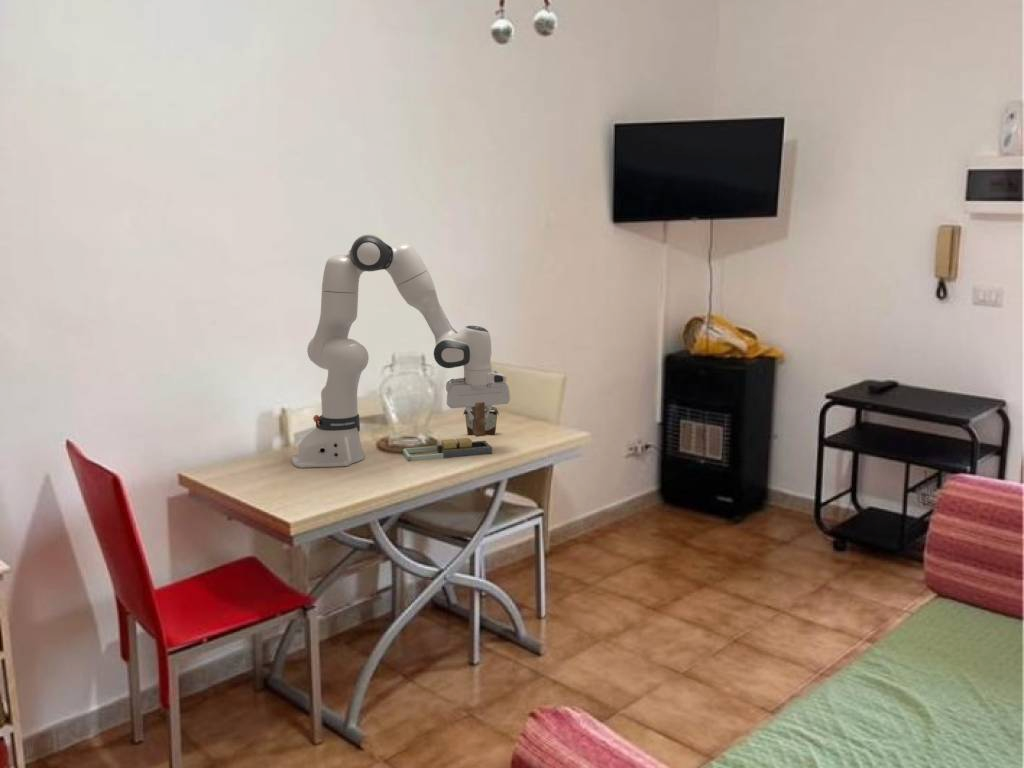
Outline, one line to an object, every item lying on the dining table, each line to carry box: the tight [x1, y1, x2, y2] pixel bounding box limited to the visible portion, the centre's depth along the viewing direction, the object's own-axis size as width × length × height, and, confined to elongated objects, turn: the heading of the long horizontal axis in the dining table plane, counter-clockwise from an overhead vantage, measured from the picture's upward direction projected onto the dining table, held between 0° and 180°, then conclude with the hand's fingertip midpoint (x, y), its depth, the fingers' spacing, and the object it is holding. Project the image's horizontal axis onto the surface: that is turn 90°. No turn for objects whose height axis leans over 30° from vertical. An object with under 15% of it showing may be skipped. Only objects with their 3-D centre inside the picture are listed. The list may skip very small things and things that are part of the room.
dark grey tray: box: [436, 440, 493, 459], centre depth 298 cm, size 16×10×3 cm, turn 107°
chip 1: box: [440, 438, 457, 450], centre depth 296 cm, size 4×4×4 cm
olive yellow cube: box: [456, 437, 473, 449], centre depth 297 cm, size 4×4×4 cm
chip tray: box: [402, 445, 445, 462], centre depth 294 cm, size 11×10×2 cm
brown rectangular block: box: [472, 402, 486, 438], centre depth 297 cm, size 3×4×11 cm
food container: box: [462, 406, 500, 436], centre depth 321 cm, size 12×6×10 cm, turn 84°
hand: (478, 419), depth 297 cm, fingers closed on brown rectangular block, 3 cm apart
